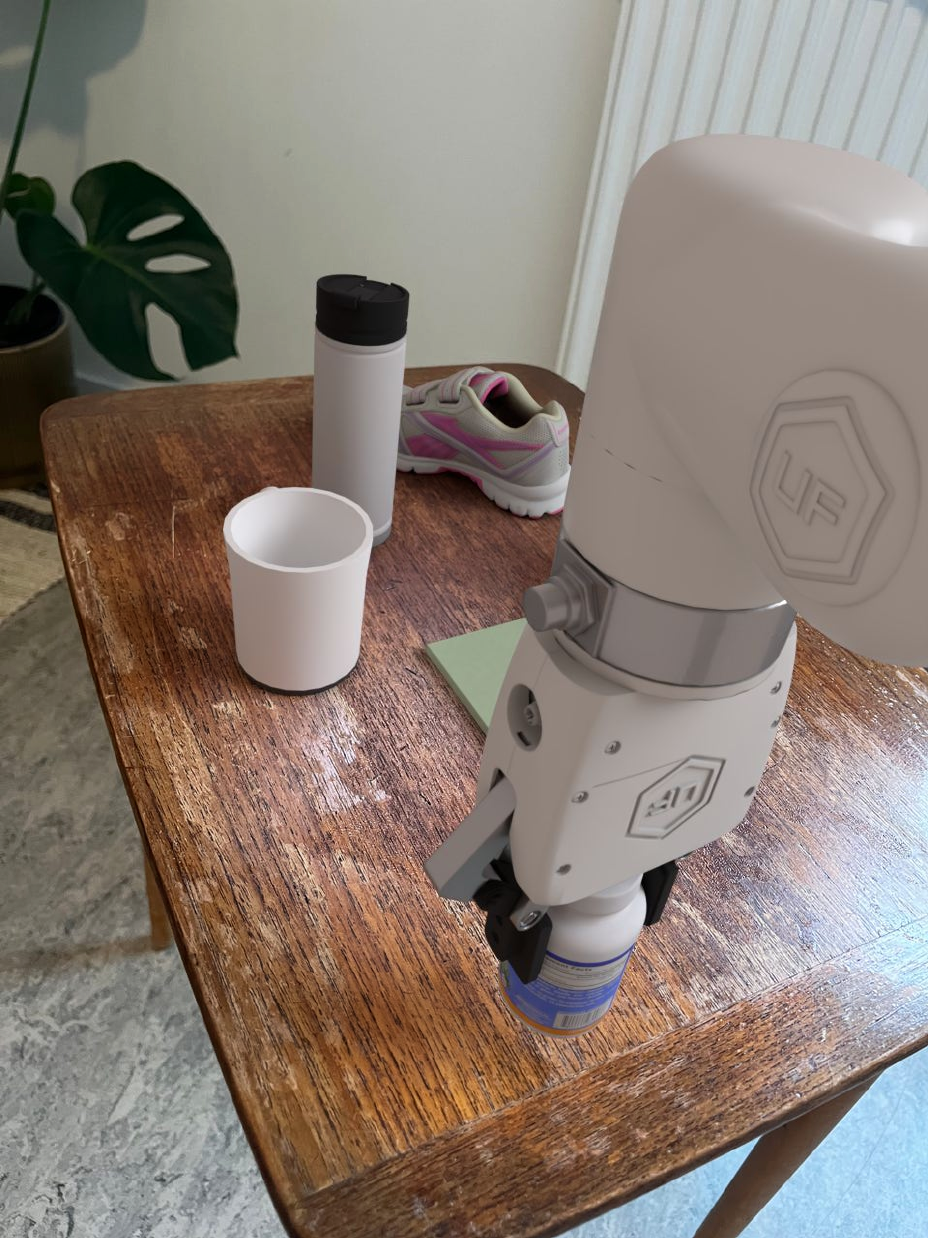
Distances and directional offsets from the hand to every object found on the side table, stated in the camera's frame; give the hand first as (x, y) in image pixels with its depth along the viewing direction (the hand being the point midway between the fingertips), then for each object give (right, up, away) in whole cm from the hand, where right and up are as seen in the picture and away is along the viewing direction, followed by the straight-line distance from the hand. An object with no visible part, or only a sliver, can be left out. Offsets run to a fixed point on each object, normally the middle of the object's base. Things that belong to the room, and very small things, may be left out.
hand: (573, 923), depth 41 cm
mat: (+1, +8, +23) cm, 24 cm away
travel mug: (-14, +20, +35) cm, 42 cm away
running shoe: (-5, +26, +45) cm, 52 cm away
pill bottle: (-1, -4, +3) cm, 5 cm away
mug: (-16, +11, +24) cm, 31 cm away
